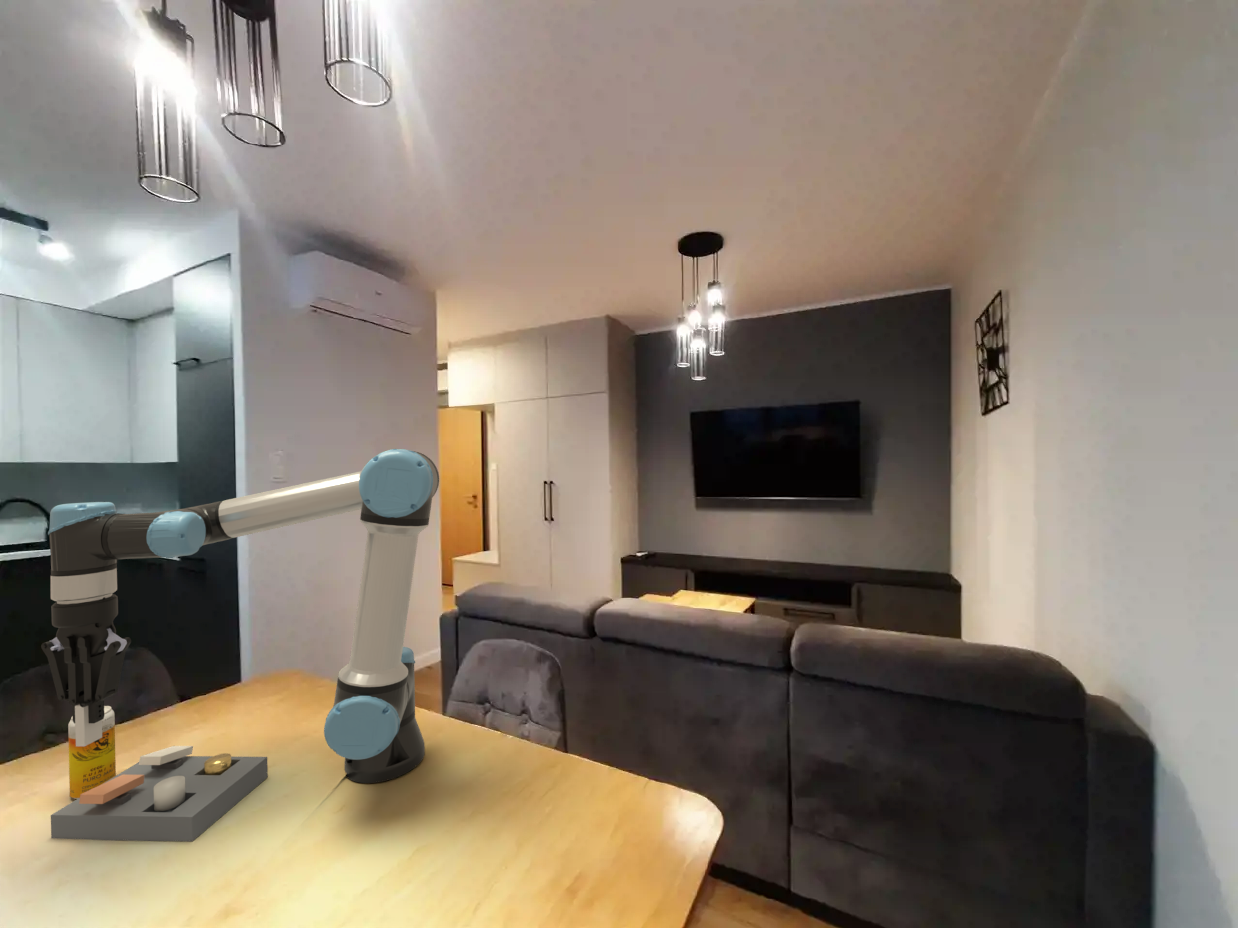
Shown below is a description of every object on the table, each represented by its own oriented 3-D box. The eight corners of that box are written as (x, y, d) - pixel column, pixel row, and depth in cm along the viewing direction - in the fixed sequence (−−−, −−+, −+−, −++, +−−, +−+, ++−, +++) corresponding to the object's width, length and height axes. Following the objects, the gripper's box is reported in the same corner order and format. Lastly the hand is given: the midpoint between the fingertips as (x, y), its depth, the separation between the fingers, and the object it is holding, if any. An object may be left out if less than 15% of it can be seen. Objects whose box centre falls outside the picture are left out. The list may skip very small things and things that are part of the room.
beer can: (86, 804, 93) (84, 721, 93) (60, 800, 95) (59, 719, 94) (124, 783, 99) (122, 706, 99) (100, 780, 100) (98, 703, 100)
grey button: (191, 795, 89) (191, 775, 89) (170, 811, 85) (170, 790, 85) (169, 795, 90) (168, 775, 90) (147, 811, 86) (147, 790, 86)
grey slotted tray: (267, 776, 101) (267, 751, 101) (192, 841, 84) (191, 810, 84) (149, 775, 102) (148, 750, 102) (51, 839, 85) (50, 808, 85)
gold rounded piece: (236, 771, 99) (236, 753, 99) (219, 784, 95) (219, 765, 95) (216, 771, 100) (216, 753, 100) (199, 784, 96) (198, 765, 96)
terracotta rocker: (143, 783, 91) (144, 774, 91) (102, 803, 84) (103, 794, 84) (121, 782, 91) (122, 774, 92) (79, 803, 84) (80, 794, 85)
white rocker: (191, 753, 101) (193, 745, 101) (159, 764, 94) (161, 756, 95) (172, 753, 101) (173, 745, 101) (138, 764, 94) (140, 756, 95)
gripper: (146, 591, 87) (149, 729, 88) (72, 591, 88) (76, 729, 88) (99, 603, 80) (103, 754, 80) (19, 604, 80) (23, 754, 81)
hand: (89, 741), depth 84 cm, fingers closed
